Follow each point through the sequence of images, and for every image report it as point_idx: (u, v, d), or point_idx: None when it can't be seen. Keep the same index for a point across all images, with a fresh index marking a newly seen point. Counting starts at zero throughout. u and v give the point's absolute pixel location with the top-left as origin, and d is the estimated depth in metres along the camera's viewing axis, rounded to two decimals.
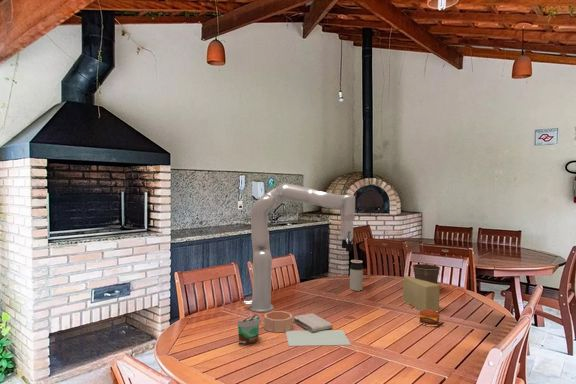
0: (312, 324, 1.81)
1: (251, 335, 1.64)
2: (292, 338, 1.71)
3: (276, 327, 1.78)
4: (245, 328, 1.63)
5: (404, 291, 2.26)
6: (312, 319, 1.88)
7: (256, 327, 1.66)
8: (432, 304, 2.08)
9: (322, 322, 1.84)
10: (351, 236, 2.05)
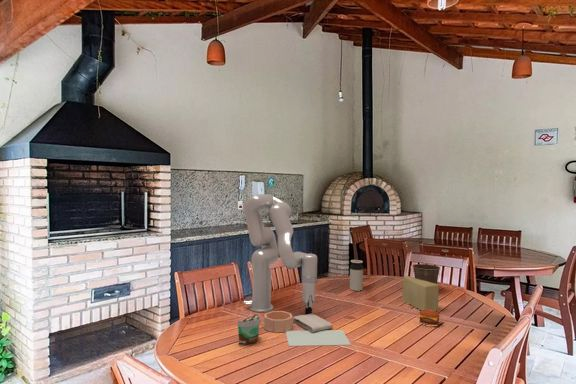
0: (312, 324, 1.81)
1: (251, 335, 1.64)
2: (292, 338, 1.71)
3: (276, 327, 1.78)
4: (245, 328, 1.63)
5: (403, 291, 2.26)
6: (312, 319, 1.87)
7: (256, 327, 1.66)
8: (432, 303, 2.08)
9: (322, 322, 1.84)
10: (310, 306, 1.94)
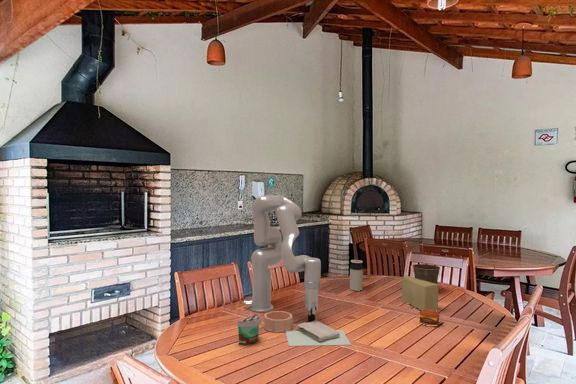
0: (319, 333, 1.70)
1: (251, 335, 1.64)
2: (292, 338, 1.71)
3: (276, 327, 1.78)
4: (245, 328, 1.63)
5: (403, 291, 2.27)
6: (318, 327, 1.77)
7: (256, 327, 1.66)
8: (431, 303, 2.09)
9: (329, 330, 1.74)
10: (313, 313, 1.83)
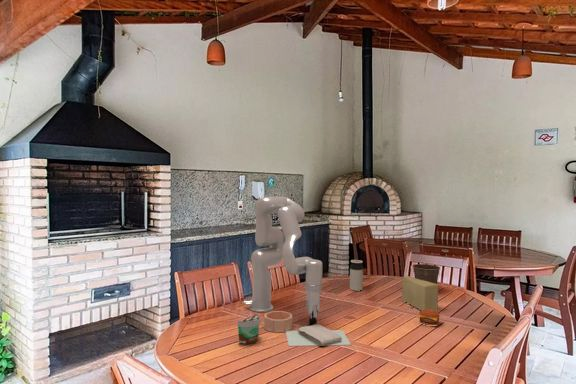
0: (320, 337, 1.66)
1: (251, 335, 1.64)
2: (292, 338, 1.71)
3: (276, 327, 1.78)
4: (245, 328, 1.63)
5: (403, 291, 2.27)
6: (319, 331, 1.73)
7: (256, 327, 1.66)
8: (431, 303, 2.09)
9: (330, 334, 1.69)
10: (315, 316, 1.79)
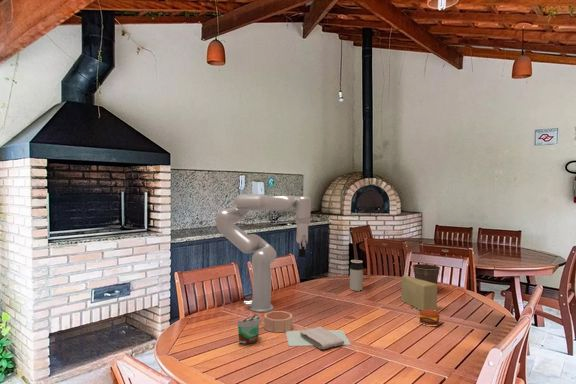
0: (322, 340, 1.63)
1: (251, 335, 1.64)
2: (292, 338, 1.71)
3: (276, 327, 1.78)
4: (245, 328, 1.63)
5: (402, 290, 2.27)
6: (321, 334, 1.69)
7: (256, 327, 1.66)
8: (430, 303, 2.09)
9: (333, 338, 1.66)
10: (304, 245, 1.98)
